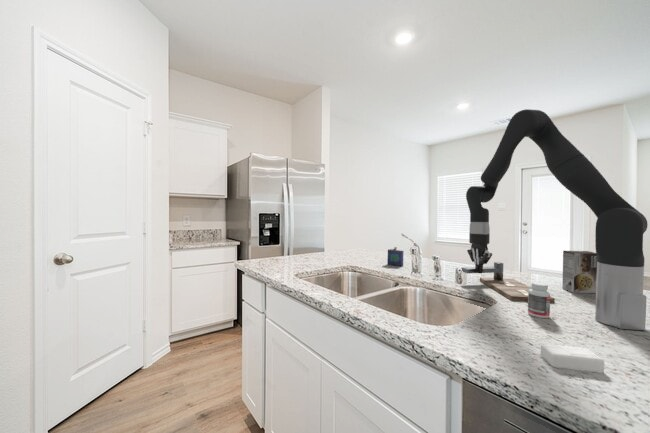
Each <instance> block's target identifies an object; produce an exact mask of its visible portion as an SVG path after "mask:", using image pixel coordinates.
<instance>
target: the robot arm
mask: <svg viewBox="0 0 650 433" xmlns="http://www.w3.org/2000/svg"><path fill="white" fill-rule="evenodd" d="M524 138H529V139H530V140H532V142H534V143H535V145H537V147H539V148H540V150H541V152H542V153H543V154H542V155H543V157H544V160H545V164H546V166H547V168H548V170H549V172H550V173H551V174H552V175H553V176H554V177H555V179H556V180H557V181H558V182H559V183H560V184H561V185H562V186H563V188H565V189H566V190H567V191H569V192H570V193H571V194H573V195H574V196H575V197H577V198H578V199H580V200H581V201H582V202H583V203H584V204H586V205H587V207H589V209H590V210H591V211H592V213H593V214H594V215H595V216H596V218H597V219H596V222H595V240H594V241H595V248H594V249H595V253H597V261H598V262H597V279H596V293H595V313H594V314H595V315H594V316H595V320H596V321H597V322H599V323H602V324H604V325H608V326H611V327H614V328H616V329H617V328H618V329H621V330H635V331H636V330H637V331H646V319H647V318H646V316H647V299H648V298H647V296H646V295H645V294H644V278H645V277H644V274H645V255H644V250H643V248H644V234H645V232H646V231H647V229H648V226H649V225H648V220H647V218H646V216H645V215H644V214H642V213H641V212H640V211H639V210H638V209H636V208H635V207H634V206H633V205H631V204H630V203H629V202H627V200H625V199H624V198H623V197H622V196H620V194H618V192H616V191H615V190H614V189H613V187H612V186H611V185H610V184H609V182H608V180H606V178H605V177H604V176H603V175H602V174H601V172H600V171H599V170H598V169H597V167H596V166H595V165H594V164H593V163H592V161H590V160H589V159H588V158H587V157H586V156H585V155H584V154H583V153H582V152H581V151H580V150H579V149H578V148H577V147H576V145H574V144H573V143H572V142H571V141H570V140H569V139H568V138H566V137H565V136H564V135H563V134H562V132H561V131H560V130H559V128H558V127H557V125H555V123H554V122H553V120H552V119H551V118H550V116H549V115H548V114H547V113H546V112H544V111H543V110H541V109H530V108H529V109H527V108H526V109H521V110H518V111H517V112H516V113H514V114H513V116H512V117H511V119H510V120H509V122H508V124H507V126H506V129H505V131H504V133H503V135H502V138H501V140H500V142H499V144H498V147H497V148H496V150H495V152H494V154H493V156H492V158H491V160H490V161H489V163H488V165H487V166H486V168H485V169H484V171H483V172H482V173H481V176H480V180H481V182H482V183H483V185H471V186H469V188H467V190H466V194H465V198H466V199H465V200H466V202H467V206H468V209H469V216H470V217H469V220H470V222H469V232H468V233H469V236H468V237H469V240H468V241H469V244H471V245H470V248H469V249H467V250H466V251H467V253H468V255H469V259H471V262H472V263H474V265H475V266H474V267H475V271H476V273H475V274H483V273H482V272H483V267H484V265H486V264H488V262H489V261H490V259H491V258H492V256H493V253H492V252H489V248H488V247H489V246H488V245H489V244H490V238H491V237H490V236H491V235H490V232H491V231H490V229H491V228H490V211H489V209H488V208H485V207H483V205H482V203H483V204H484V203H488V202H490V201H491V200H492V199H494V196H495V194H496V192H497V189H498V187H499V183H500V182H501V180H502V179H503V178H504V177H505V175H506V173H507V172H508V170H509V168H510V166H511V163H512V162H511V161H512V158H513V155H514V152H515V150H516V149H517V147H518V146H519V144H520V143H521V141H523V139H524Z"/></svg>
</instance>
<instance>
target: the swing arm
mask: <svg viewBox="0 0 650 433" xmlns="http://www.w3.org/2000/svg"><path fill="white" fill-rule="evenodd" d="M461 269H462V271H463V272H462V271H461V272H462V273H465V274H477V273H476V271H475V266H466V267H465V266H463V267H461ZM491 273H493V278H494V279H497V280H503V279H504V263H503V262H500V261H499V262H498V261H494V262H493V266H483V272H482V273H481V274H491Z"/></svg>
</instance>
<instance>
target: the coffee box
mask: <svg viewBox="0 0 650 433" xmlns="http://www.w3.org/2000/svg"><path fill="white" fill-rule="evenodd" d="M562 252H563V253H562V254H563V255H562V281H561V282H562V284H561V285H562V286H561V288H563V289H562V290H565V291H567V290H568V291H567V292H570V293H572V294H596V279H597V262H598V261H597V253H596V252H593V251H589V250H563V251H562Z"/></svg>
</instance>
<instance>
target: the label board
mask: <svg viewBox="0 0 650 433" xmlns="http://www.w3.org/2000/svg"><path fill="white" fill-rule="evenodd" d="M479 282H481V283H482V284H484V285H486V286H487V287H490V288H491V289H492V290H494V291H495V292H497V293H499V294H500V295H502V296H504V297H505V298H507V299H509V300H510V301H514V302H515V301H517V302H528V291H529V290H530V289H532V287H531V286H528V285H527V284H526V283H525V284H524V283H522V282H520V281H519V280H516V279H513V278H503V280H497V279H494V277H479ZM555 299H556V298H554V297H552V296H550V304H551V303H555V302H556V301H555Z"/></svg>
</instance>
